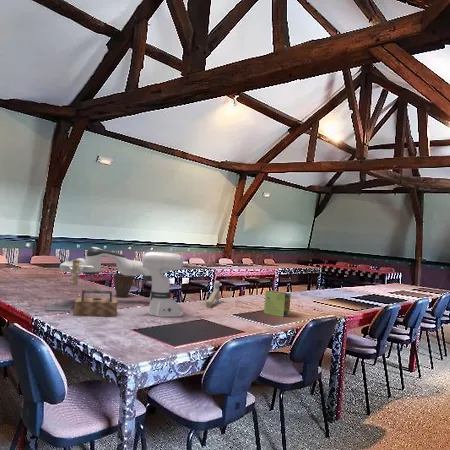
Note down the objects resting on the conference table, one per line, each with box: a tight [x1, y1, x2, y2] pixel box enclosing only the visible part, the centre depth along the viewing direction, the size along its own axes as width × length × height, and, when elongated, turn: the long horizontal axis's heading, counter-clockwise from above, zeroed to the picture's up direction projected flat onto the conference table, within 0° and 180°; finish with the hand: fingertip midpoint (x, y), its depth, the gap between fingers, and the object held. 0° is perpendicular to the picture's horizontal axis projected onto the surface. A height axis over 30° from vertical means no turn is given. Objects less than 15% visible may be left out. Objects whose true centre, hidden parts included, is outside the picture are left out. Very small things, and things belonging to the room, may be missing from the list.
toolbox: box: [73, 289, 118, 317], centre depth 254 cm, size 24×14×14 cm, turn 104°
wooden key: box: [70, 259, 80, 286], centre depth 261 cm, size 4×4×15 cm
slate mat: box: [45, 304, 73, 312], centre depth 259 cm, size 14×14×1 cm
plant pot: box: [113, 273, 135, 298], centre depth 318 cm, size 15×15×16 cm
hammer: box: [205, 280, 221, 308], centre depth 316 cm, size 16×5×30 cm
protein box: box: [263, 290, 292, 318], centre depth 298 cm, size 10×15×16 cm
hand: (75, 269), depth 260 cm, fingers closed on wooden key, 4 cm apart
